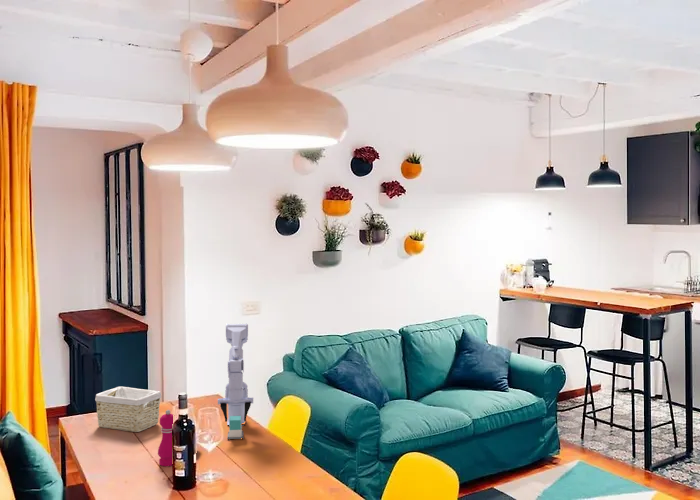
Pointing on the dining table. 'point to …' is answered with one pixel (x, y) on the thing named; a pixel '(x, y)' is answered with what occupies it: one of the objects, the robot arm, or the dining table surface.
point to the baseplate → (234, 437)
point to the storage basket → (128, 408)
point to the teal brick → (235, 423)
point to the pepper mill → (166, 440)
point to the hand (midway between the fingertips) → (235, 420)
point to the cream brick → (235, 433)
